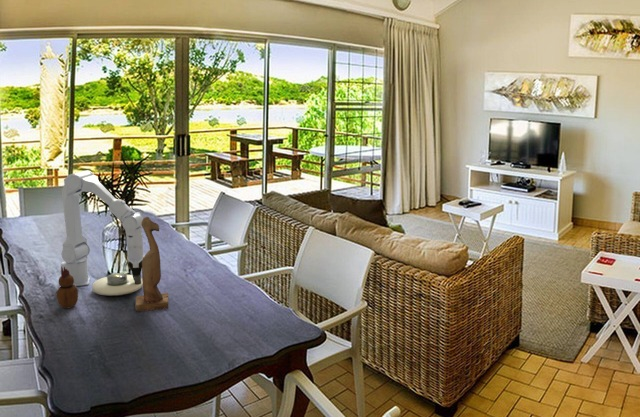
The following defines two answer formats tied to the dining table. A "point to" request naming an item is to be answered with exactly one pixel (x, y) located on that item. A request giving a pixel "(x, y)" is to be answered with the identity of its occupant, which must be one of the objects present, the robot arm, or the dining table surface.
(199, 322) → the dining table surface
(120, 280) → the cover
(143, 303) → the bird sculpture
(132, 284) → the turntable
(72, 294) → the wooden figurine
